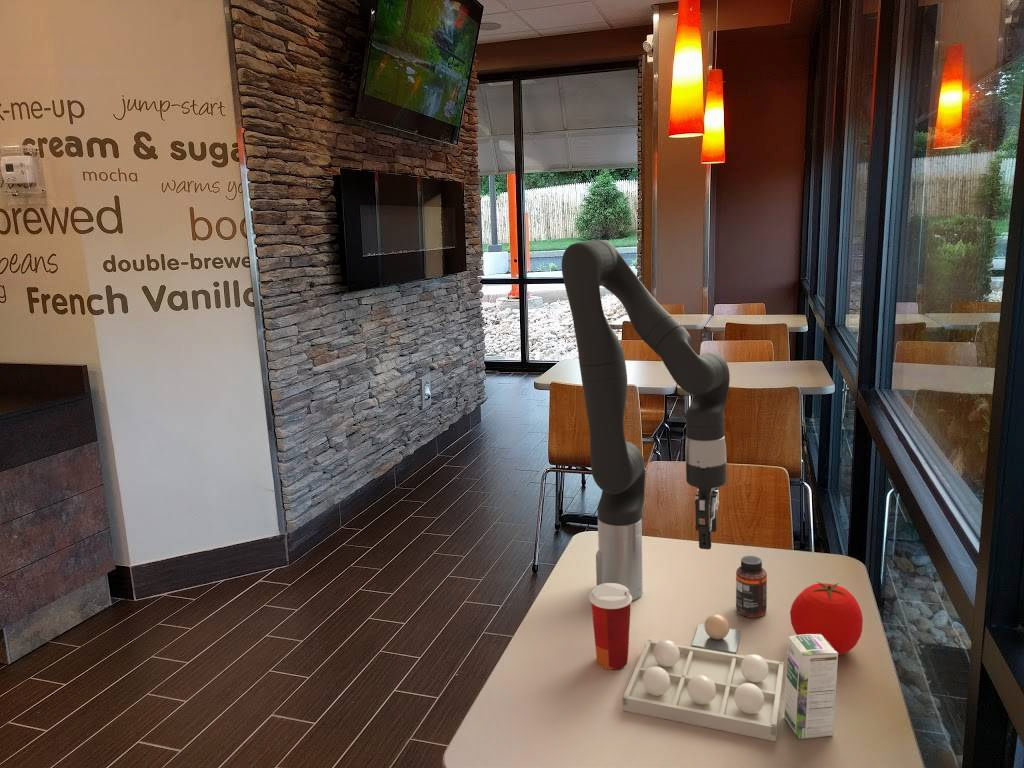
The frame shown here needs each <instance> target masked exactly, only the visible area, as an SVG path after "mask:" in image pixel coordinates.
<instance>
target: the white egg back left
mask: <svg viewBox="0 0 1024 768" xmlns="http://www.w3.org/2000/svg"><path fill="white" fill-rule="evenodd" d="M658 641H659V640H658ZM676 644H677V643H676V642H674V641H673V640H670V639H661V640H660V641H659V642H658V643H657V644H656V645H655V647H654V658H655V660H656V661H657V662H658V663H659V664H660V665H661V666H664V667H671V666H673V665H675V664H676V663H677V662H678V660H679V657H680V651H679V648H678V646H677V645H678V644H677V645H676Z"/></svg>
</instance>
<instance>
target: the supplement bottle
mask: <svg viewBox="0 0 1024 768" xmlns="http://www.w3.org/2000/svg"><path fill="white" fill-rule="evenodd" d="M762 561H763V560H762V559H761V557H758V556H757V555H756V556H755V555H745V556H742V557H741V559H740V566H739V567H738V568H737V569H736V572H735V573H736V574H735V575H736V576H735V609H736V611H737V612H738V614H739V615H742V616H744V617H747V618H760V617H762V616H764V615H765V614H766V612H767V602H768V601H767V600H768V597H767V593H768V592H767V590H768V583H767V582H768V581H767V580H768V574H767V571H766V570H765V569H764V568H763V563H762Z"/></svg>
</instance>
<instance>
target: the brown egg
mask: <svg viewBox="0 0 1024 768" xmlns="http://www.w3.org/2000/svg"><path fill="white" fill-rule="evenodd" d="M703 625H704V628H705V631H706V633H707V634H708V635H709V636H710V637H711V638H713V639H723V638H724V637H726V636H727V634H728V632H729V629H730V623H729V621H728V620H727V618H726V617H725V616H724V615H722V614H719V613H714V614H713V613H712V614H710V615H709V616H707V617H706V619H705V621H704V624H703Z"/></svg>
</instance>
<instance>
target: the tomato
mask: <svg viewBox="0 0 1024 768" xmlns="http://www.w3.org/2000/svg"><path fill="white" fill-rule="evenodd" d="M839 584H840V583H839V582H838V583H837V582H836V583H828V582H826V583H825V582H819V581H817V583H813V584H811V585H809V586H807V587H806V588H804V589H803V590H802V591H801V592H800V593H799V594H798V595H797V596H796V597H795V599H794V600H793V602H792V605H791V607H790V610H789V611H790V612H789V615H790V623H791V627H792V629H793V631H794V633H795V635H803V634H821V635H822V636H823V637H824V638H825V639H826V640H827V641H828V642H829V643H830V645H831V646H832V647H833V649H834V650H835V651H837V652H838V656H839V655H840V656H841V655H844V654H845V653H847V652H850V651H851V650H852V649H854V647H856V645H857V643H858V642H859V640H860V638H861V636H862V632H863V621H864V620H863V612H862V609H861V606H860V605H859V602H858V601H857V599H856V597H855V596H854V595H853V594H852V593H851V592H850V591H849V590H848V589H846V588H844V587H843V586H840V585H839Z"/></svg>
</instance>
